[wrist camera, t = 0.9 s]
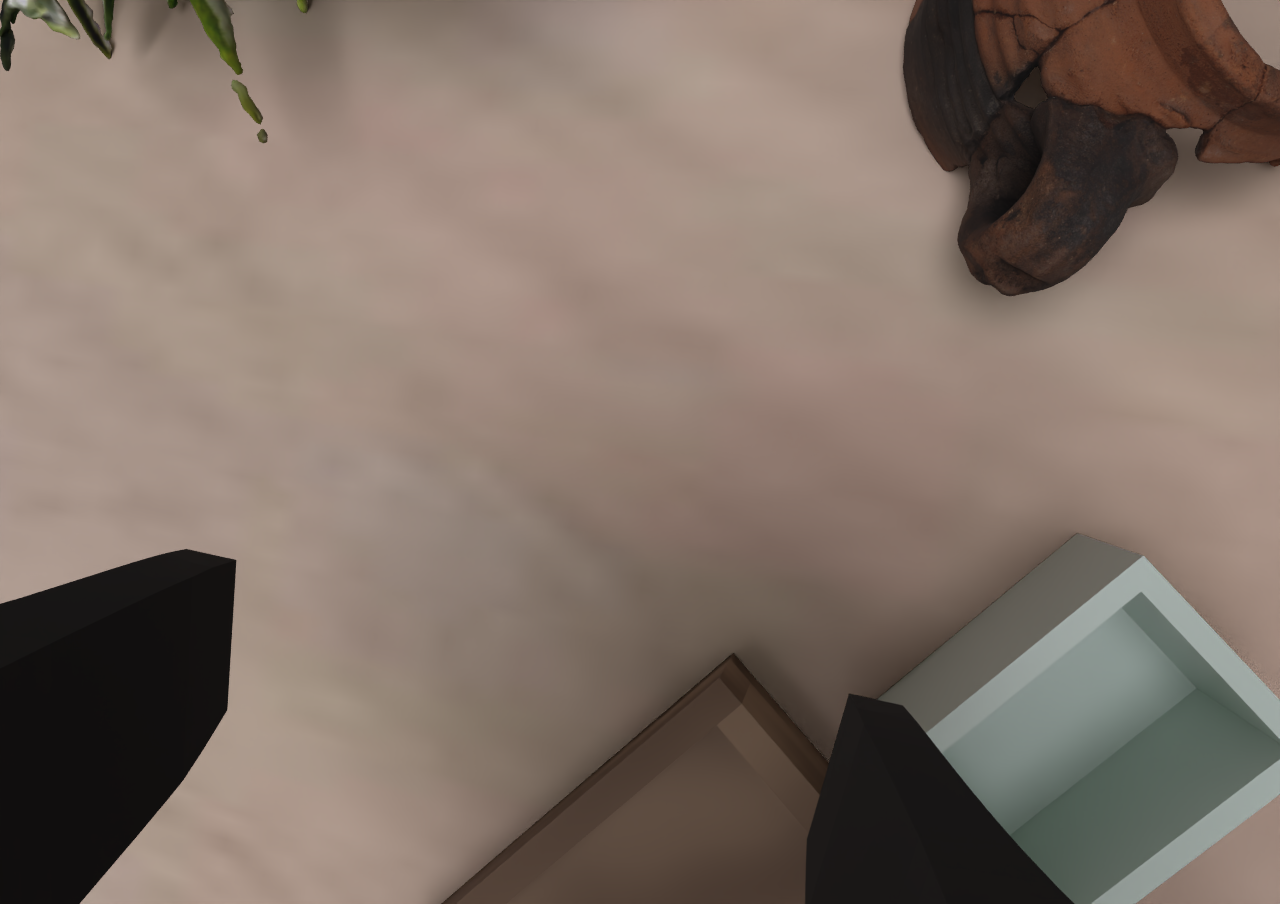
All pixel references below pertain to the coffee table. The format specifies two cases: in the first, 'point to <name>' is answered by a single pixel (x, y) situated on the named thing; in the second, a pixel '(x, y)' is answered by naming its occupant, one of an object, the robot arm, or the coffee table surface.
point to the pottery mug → (1077, 117)
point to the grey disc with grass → (44, 5)
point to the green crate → (1100, 722)
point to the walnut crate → (677, 813)
